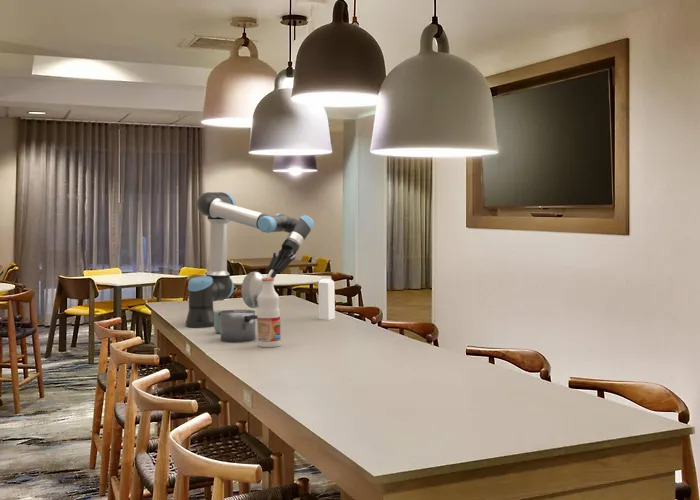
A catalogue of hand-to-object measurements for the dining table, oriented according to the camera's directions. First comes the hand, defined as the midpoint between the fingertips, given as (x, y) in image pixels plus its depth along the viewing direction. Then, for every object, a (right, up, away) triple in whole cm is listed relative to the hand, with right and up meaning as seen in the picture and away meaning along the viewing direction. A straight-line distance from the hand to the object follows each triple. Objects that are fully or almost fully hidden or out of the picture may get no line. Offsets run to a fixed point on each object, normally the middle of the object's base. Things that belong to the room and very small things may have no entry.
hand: (266, 282), depth 344 cm
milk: (+26, -21, +45) cm, 56 cm away
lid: (-5, -3, -6) cm, 8 cm away
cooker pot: (-11, -24, -11) cm, 29 cm away
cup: (-21, -23, +6) cm, 32 cm away
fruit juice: (+4, -25, -27) cm, 37 cm away
